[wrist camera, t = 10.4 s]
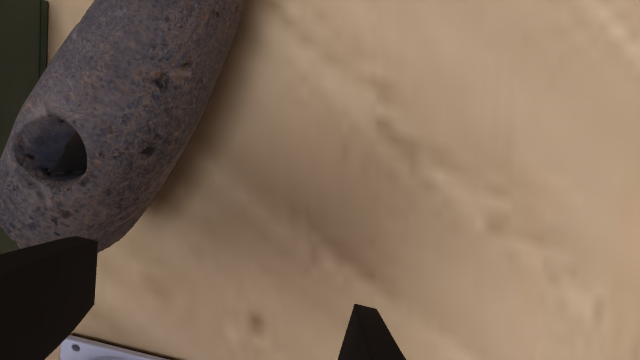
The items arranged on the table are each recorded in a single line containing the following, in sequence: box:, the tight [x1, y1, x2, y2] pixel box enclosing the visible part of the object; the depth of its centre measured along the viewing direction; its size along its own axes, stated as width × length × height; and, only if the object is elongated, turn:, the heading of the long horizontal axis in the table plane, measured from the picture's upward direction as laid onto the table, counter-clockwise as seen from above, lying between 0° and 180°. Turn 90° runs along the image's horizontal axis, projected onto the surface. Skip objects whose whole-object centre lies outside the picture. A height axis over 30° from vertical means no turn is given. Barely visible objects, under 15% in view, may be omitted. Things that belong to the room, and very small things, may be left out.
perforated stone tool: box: [0, 0, 244, 253], centre depth 15 cm, size 15×5×7 cm, turn 143°
